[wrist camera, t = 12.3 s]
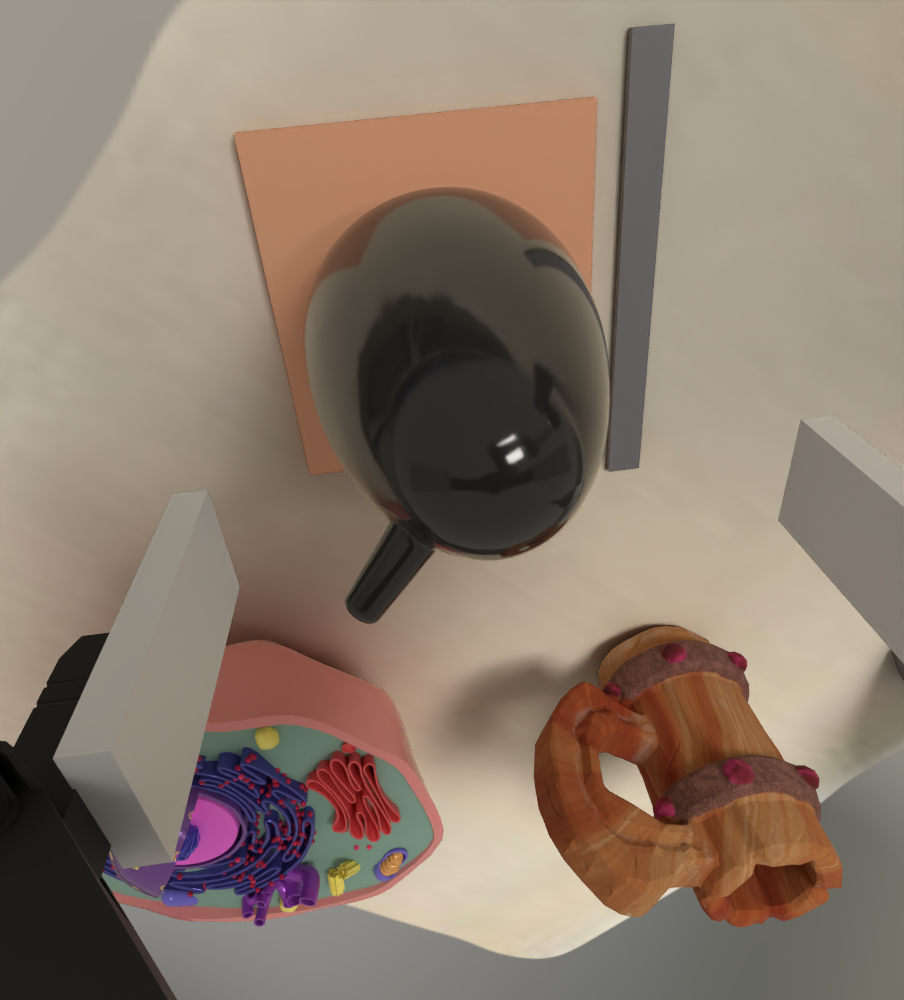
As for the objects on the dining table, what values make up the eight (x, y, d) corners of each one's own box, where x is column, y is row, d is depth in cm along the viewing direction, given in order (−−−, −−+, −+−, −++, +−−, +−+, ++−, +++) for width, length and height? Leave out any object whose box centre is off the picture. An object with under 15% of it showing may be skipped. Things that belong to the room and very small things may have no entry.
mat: (592, 96, 25) (597, 97, 25) (582, 434, 33) (586, 440, 32) (236, 132, 25) (233, 133, 24) (310, 469, 32) (309, 475, 32)
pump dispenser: (256, 325, 28) (168, 549, 15) (426, 105, 24) (502, 153, 11) (442, 464, 32) (496, 728, 19) (608, 295, 29) (808, 481, 16)
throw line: (670, 24, 24) (674, 23, 24) (636, 463, 34) (638, 467, 34) (628, 28, 24) (632, 27, 24) (606, 467, 34) (609, 471, 34)
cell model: (360, 814, 47) (361, 1004, 37) (46, 747, 40) (-50, 960, 31) (483, 646, 40) (522, 830, 30) (126, 530, 33) (31, 721, 23)
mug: (754, 623, 41) (928, 870, 29) (687, 713, 45) (814, 966, 32) (532, 576, 37) (621, 839, 25) (480, 680, 41) (534, 952, 29)
